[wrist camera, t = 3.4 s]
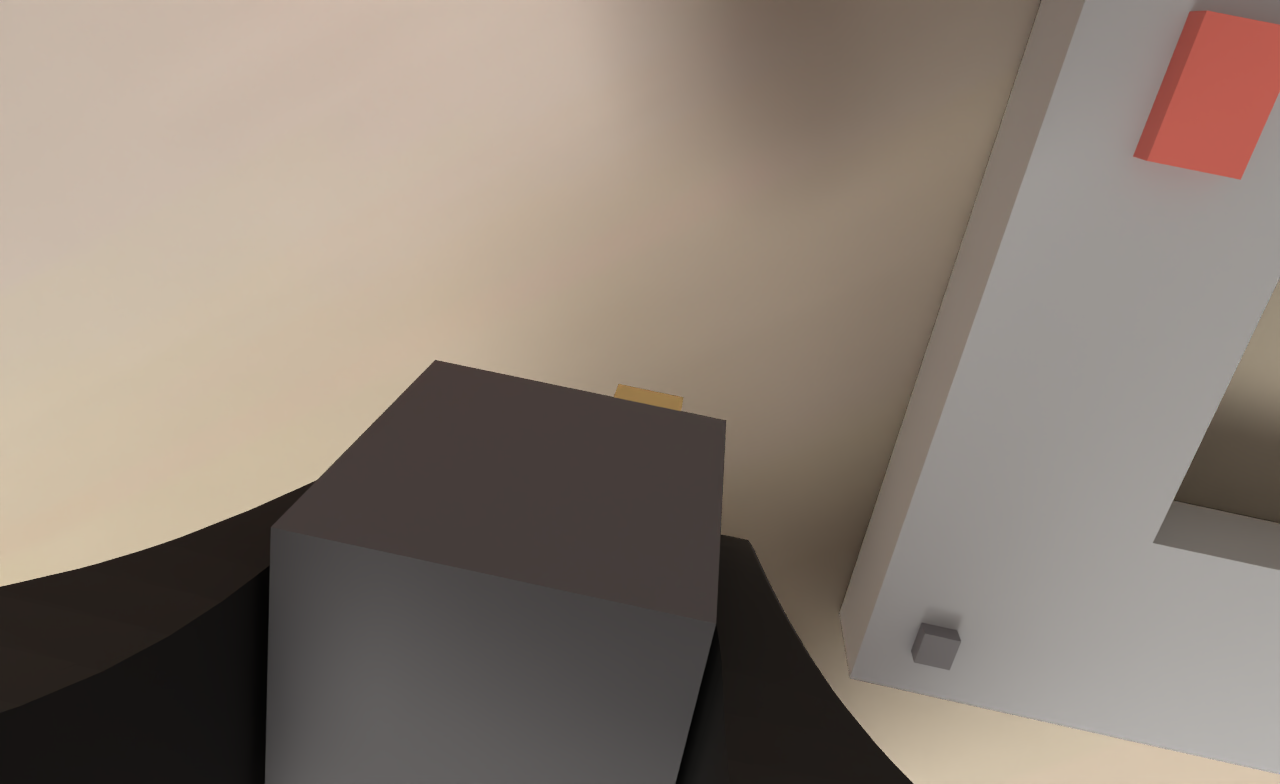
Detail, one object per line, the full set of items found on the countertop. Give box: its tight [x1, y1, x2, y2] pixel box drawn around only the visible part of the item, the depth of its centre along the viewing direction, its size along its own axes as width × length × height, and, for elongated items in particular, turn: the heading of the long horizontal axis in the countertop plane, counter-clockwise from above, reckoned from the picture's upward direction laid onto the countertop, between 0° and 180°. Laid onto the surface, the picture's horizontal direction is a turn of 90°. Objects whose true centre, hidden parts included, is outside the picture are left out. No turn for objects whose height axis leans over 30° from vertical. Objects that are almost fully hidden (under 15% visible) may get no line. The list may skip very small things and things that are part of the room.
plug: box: [265, 360, 726, 784], centre depth 11 cm, size 4×4×6 cm
